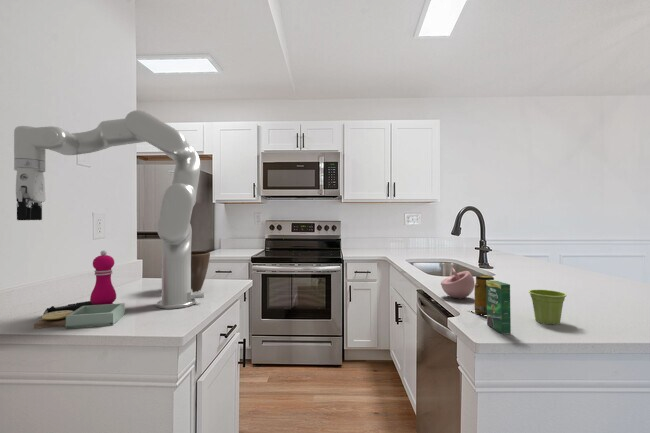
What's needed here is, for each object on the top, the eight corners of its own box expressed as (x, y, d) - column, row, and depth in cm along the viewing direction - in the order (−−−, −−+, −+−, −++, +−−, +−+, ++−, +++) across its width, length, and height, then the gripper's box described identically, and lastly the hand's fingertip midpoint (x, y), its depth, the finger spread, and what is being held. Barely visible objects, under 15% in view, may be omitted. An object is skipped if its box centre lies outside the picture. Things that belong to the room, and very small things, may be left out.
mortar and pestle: (438, 294, 136) (438, 265, 136) (469, 295, 134) (469, 266, 134) (444, 301, 124) (444, 270, 124) (478, 302, 122) (478, 271, 122)
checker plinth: (79, 317, 103) (79, 313, 103) (67, 325, 96) (67, 321, 96) (48, 319, 101) (48, 315, 101) (34, 328, 93) (34, 323, 93)
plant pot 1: (209, 293, 137) (209, 254, 137) (169, 295, 133) (169, 255, 133) (211, 286, 151) (211, 250, 151) (175, 288, 147) (175, 251, 147)
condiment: (484, 309, 113) (484, 273, 113) (506, 316, 105) (506, 278, 105) (467, 311, 110) (467, 275, 111) (488, 318, 103) (488, 279, 103)
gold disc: (77, 315, 103) (77, 309, 103) (66, 322, 96) (66, 316, 96) (49, 317, 101) (49, 311, 101) (36, 324, 94) (36, 318, 94)
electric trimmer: (103, 308, 115) (103, 299, 115) (45, 318, 103) (45, 308, 103) (98, 307, 117) (99, 298, 118) (42, 316, 105) (42, 306, 105)
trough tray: (124, 314, 107) (124, 303, 107) (113, 325, 96) (113, 312, 96) (82, 317, 104) (82, 305, 104) (65, 329, 93) (65, 316, 93)
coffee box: (485, 324, 97) (485, 279, 97) (495, 324, 97) (495, 278, 97) (500, 334, 89) (500, 284, 89) (511, 333, 89) (511, 284, 89)
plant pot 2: (523, 320, 100) (523, 291, 100) (536, 315, 106) (536, 287, 106) (559, 329, 93) (559, 297, 93) (571, 322, 98) (571, 293, 98)
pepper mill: (84, 313, 108) (84, 251, 108) (102, 307, 115) (103, 249, 115) (104, 314, 107) (104, 251, 107) (121, 308, 114) (121, 249, 114)
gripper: (35, 163, 101) (35, 220, 100) (53, 170, 116) (53, 220, 116) (2, 161, 97) (2, 220, 97) (25, 169, 113) (25, 220, 113)
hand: (30, 220), depth 107 cm, fingers open, 9 cm apart
